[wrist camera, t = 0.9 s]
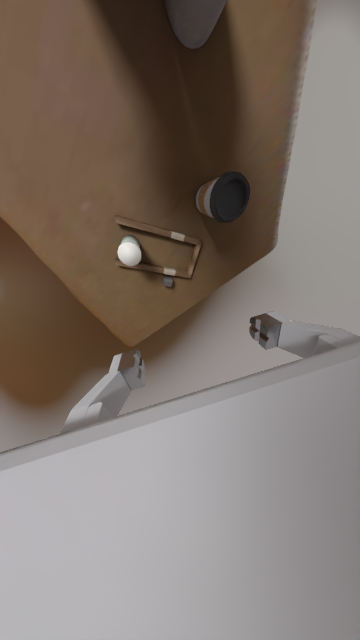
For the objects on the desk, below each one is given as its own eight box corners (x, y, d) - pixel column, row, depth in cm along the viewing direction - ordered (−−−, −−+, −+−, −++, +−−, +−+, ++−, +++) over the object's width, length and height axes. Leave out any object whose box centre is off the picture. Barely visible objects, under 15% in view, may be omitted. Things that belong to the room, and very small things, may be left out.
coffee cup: (208, 169, 36) (241, 155, 25) (224, 199, 41) (258, 199, 30) (185, 198, 39) (205, 198, 28) (203, 224, 44) (226, 232, 33)
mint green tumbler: (121, 231, 40) (117, 239, 32) (140, 236, 42) (142, 245, 34) (120, 251, 43) (117, 263, 35) (139, 255, 45) (140, 267, 37)
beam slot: (116, 214, 38) (115, 215, 35) (200, 239, 46) (203, 241, 44) (115, 274, 47) (115, 278, 45) (185, 285, 56) (187, 289, 54)
